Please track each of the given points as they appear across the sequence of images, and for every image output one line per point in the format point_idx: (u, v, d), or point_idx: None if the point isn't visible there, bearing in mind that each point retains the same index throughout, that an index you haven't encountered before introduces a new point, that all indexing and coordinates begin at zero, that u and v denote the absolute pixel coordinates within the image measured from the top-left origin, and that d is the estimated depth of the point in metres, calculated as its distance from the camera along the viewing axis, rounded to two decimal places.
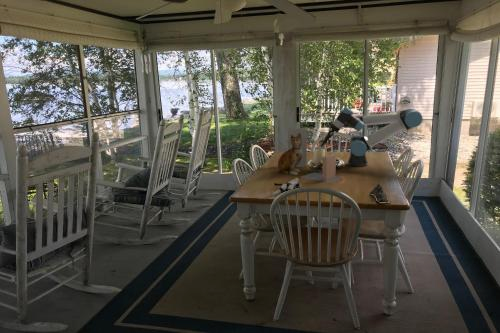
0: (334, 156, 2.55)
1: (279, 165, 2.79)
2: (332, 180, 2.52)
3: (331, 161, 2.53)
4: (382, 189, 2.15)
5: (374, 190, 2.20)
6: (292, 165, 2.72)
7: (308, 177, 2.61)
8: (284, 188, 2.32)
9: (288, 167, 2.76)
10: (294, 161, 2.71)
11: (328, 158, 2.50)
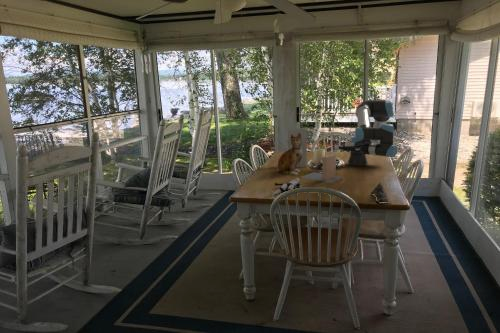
0: (334, 156, 2.55)
1: (279, 165, 2.79)
2: (332, 180, 2.52)
3: (331, 161, 2.53)
4: (383, 189, 2.15)
5: (375, 190, 2.20)
6: (292, 165, 2.72)
7: (308, 177, 2.61)
8: (284, 188, 2.32)
9: (288, 167, 2.76)
10: (294, 161, 2.71)
11: (328, 158, 2.50)
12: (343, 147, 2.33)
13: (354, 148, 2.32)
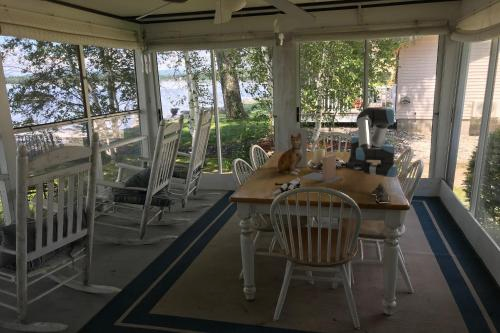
0: (334, 156, 2.55)
1: (279, 165, 2.79)
2: (332, 180, 2.52)
3: (331, 161, 2.53)
4: (383, 189, 2.15)
5: (376, 190, 2.20)
6: (292, 165, 2.72)
7: (308, 177, 2.61)
8: (284, 188, 2.32)
9: (288, 167, 2.76)
10: (294, 161, 2.71)
11: (328, 158, 2.50)
12: (346, 164, 2.42)
13: (353, 167, 2.37)
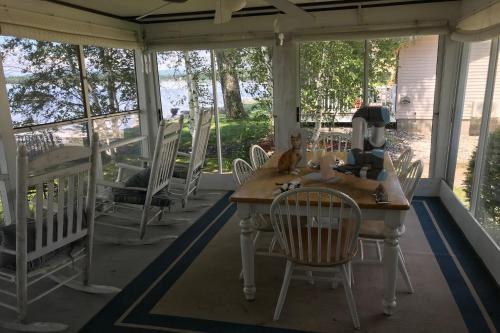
0: (330, 155, 2.57)
1: (279, 165, 2.79)
2: (332, 180, 2.52)
3: (328, 160, 2.55)
4: (383, 189, 2.15)
5: (376, 190, 2.19)
6: (292, 165, 2.72)
7: (308, 177, 2.61)
8: (285, 188, 2.32)
9: (288, 167, 2.76)
10: (294, 161, 2.71)
11: (324, 157, 2.52)
12: (337, 168, 2.46)
13: (344, 171, 2.41)
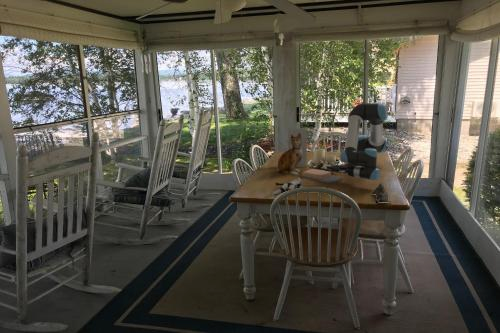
0: (311, 169, 2.70)
1: (279, 165, 2.79)
2: (332, 180, 2.52)
3: (312, 170, 2.66)
4: (383, 189, 2.15)
5: (376, 190, 2.19)
6: (292, 165, 2.72)
7: (308, 177, 2.61)
8: (285, 188, 2.32)
9: (288, 167, 2.76)
10: (294, 161, 2.71)
11: (305, 171, 2.64)
12: (331, 167, 2.50)
13: (338, 170, 2.45)
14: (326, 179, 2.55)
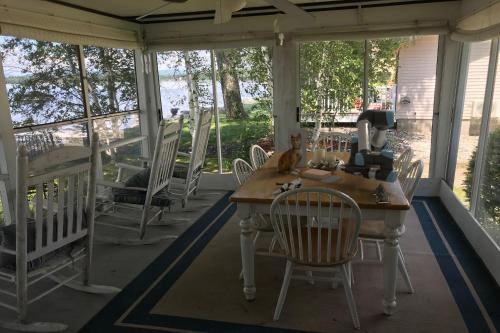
0: (311, 169, 2.70)
1: (279, 165, 2.79)
2: (332, 180, 2.52)
3: (312, 170, 2.66)
4: (383, 189, 2.15)
5: (376, 190, 2.19)
6: (292, 165, 2.72)
7: (308, 177, 2.61)
8: (285, 188, 2.33)
9: (288, 167, 2.76)
10: (294, 161, 2.71)
11: (305, 171, 2.64)
12: (345, 169, 2.43)
13: (353, 172, 2.38)
14: (326, 179, 2.55)
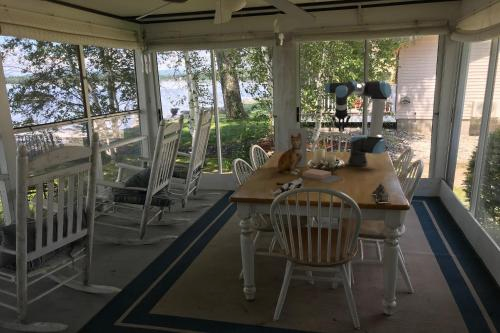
0: (311, 169, 2.70)
1: (279, 165, 2.79)
2: (332, 180, 2.52)
3: (312, 170, 2.66)
4: (384, 189, 2.15)
5: (376, 190, 2.19)
6: (292, 165, 2.72)
7: (308, 177, 2.61)
8: (285, 188, 2.33)
9: (288, 167, 2.76)
10: (294, 161, 2.71)
11: (305, 171, 2.64)
12: (335, 125, 2.65)
13: None
14: (326, 179, 2.55)
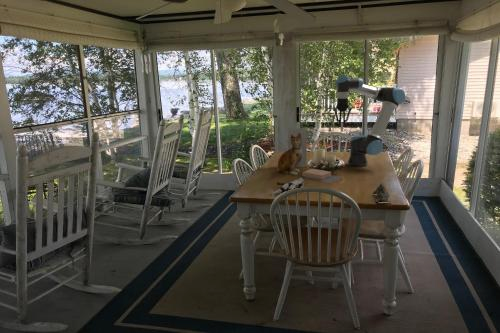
0: (311, 169, 2.70)
1: (279, 165, 2.79)
2: (332, 180, 2.52)
3: (312, 170, 2.66)
4: (384, 189, 2.15)
5: (377, 190, 2.19)
6: (292, 165, 2.72)
7: (308, 177, 2.61)
8: (285, 188, 2.33)
9: (288, 167, 2.76)
10: (294, 161, 2.71)
11: (305, 171, 2.64)
12: (337, 120, 2.68)
13: None
14: (326, 179, 2.55)
